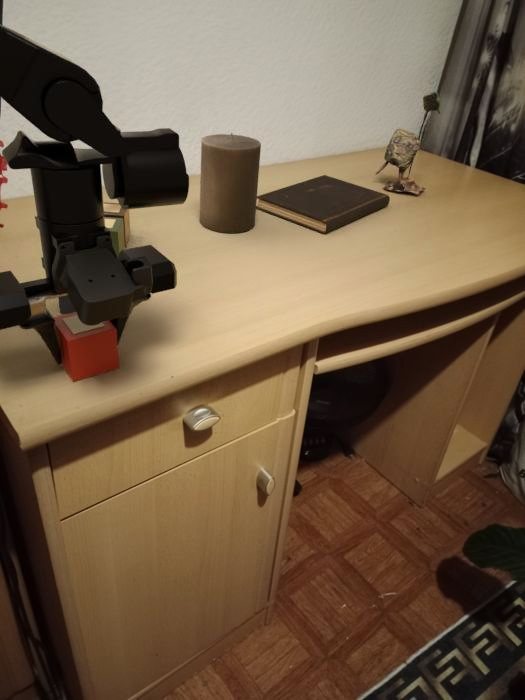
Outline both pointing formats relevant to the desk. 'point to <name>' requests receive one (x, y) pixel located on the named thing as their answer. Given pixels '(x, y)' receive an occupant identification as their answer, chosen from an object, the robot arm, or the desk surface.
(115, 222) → the olive block
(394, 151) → the mottled figurine
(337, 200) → the hardcover book
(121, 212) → the walnut block
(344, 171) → the desk surface
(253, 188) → the pillar candle
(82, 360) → the red block
